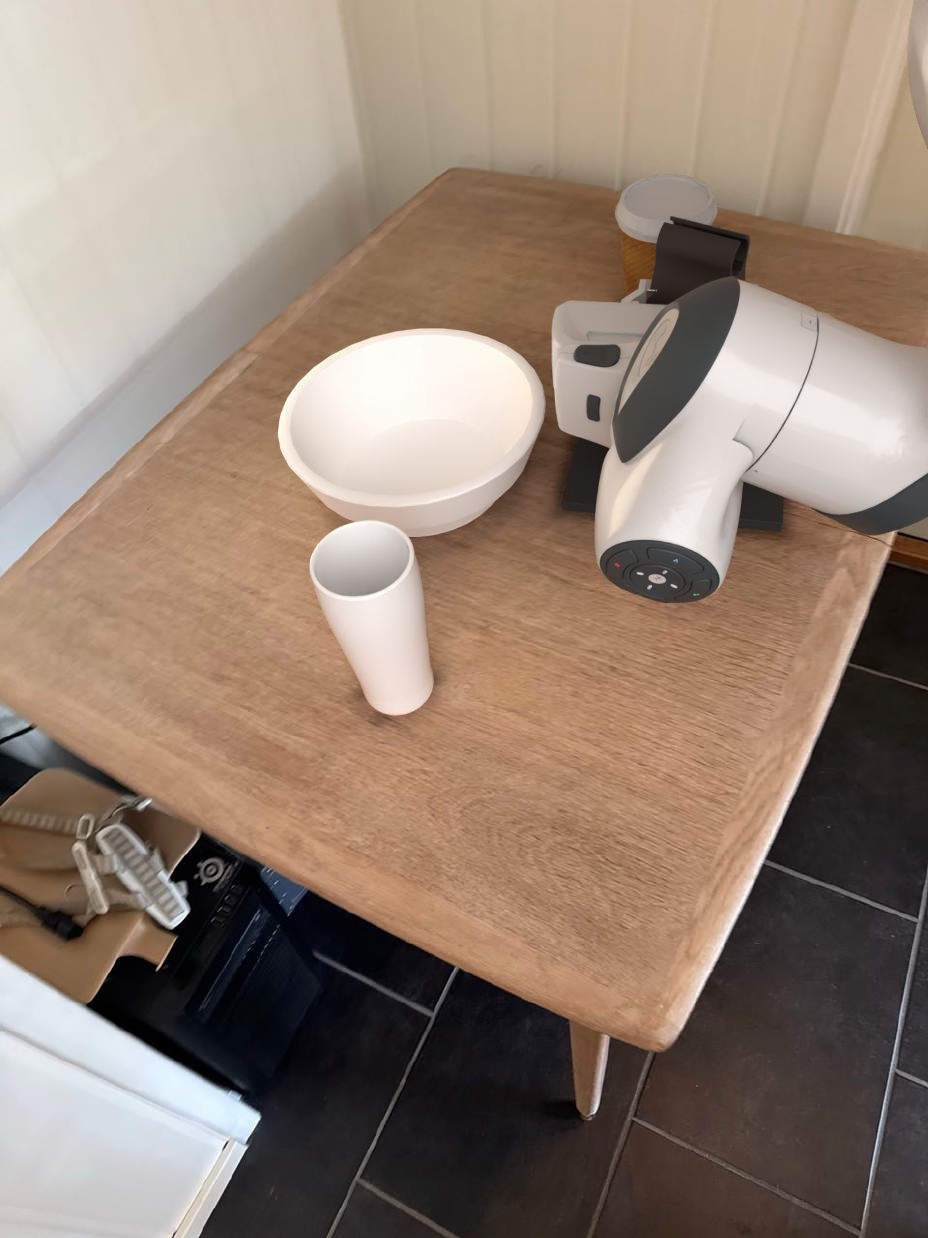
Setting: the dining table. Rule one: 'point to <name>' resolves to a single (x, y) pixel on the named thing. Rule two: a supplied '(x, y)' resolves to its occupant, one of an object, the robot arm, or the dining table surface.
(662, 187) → the disposable coffee cup
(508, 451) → the bowl
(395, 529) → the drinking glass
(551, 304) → the dining table surface
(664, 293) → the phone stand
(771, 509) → the dock pad
